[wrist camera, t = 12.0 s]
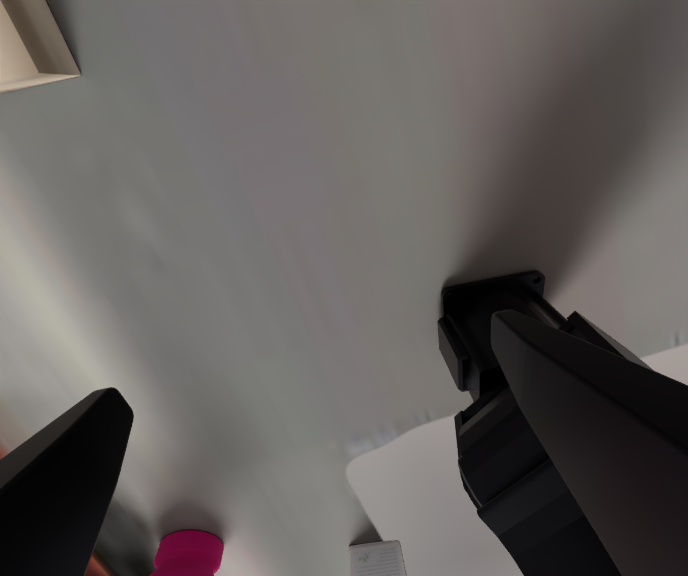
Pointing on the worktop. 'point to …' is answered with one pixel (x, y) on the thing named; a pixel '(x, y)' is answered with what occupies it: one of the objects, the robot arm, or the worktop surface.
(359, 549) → the syrup box
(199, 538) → the pepper mill
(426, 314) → the worktop surface
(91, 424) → the robot arm
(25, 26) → the plinth
